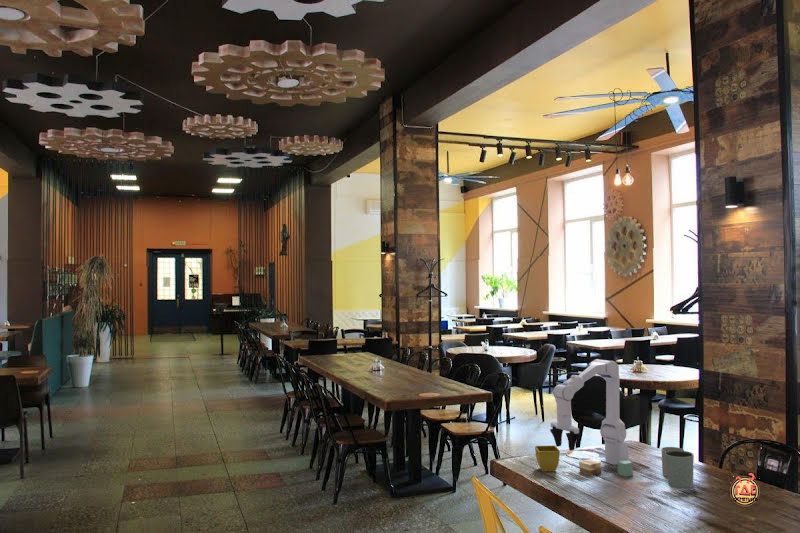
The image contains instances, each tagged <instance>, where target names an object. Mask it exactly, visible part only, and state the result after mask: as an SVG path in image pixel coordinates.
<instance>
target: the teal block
mask: <svg viewBox="0 0 800 533" xmlns="http://www.w3.org/2000/svg"><path fill="white" fill-rule="evenodd" d="M633 473H634V472H633V462H632V461H630V462H629V461H626V460H623V461H618V462H617V475H620V476H622V477H631V476H633Z"/></svg>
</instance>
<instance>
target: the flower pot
mask: <svg viewBox="0 0 800 533" xmlns="http://www.w3.org/2000/svg"><path fill="white" fill-rule="evenodd" d="M534 449H535V458H536V463H537V464H538V466H539V468H540V470H541V471H542V472H556V470H557V469H558V465H559V462H560V453H561V452H560V449H559V448H558V447H557V446H556V445H535V446H534Z"/></svg>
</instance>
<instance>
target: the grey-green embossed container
mask: <svg viewBox="0 0 800 533" xmlns="http://www.w3.org/2000/svg"><path fill="white" fill-rule="evenodd" d="M694 455H695V454H694V453H693V452H690V451H687V450H684V451H681V450H671V451H666V452H665V460H666V467H667V474H668V477H667V482H668V485H669V486H670V487H671V488H675V489H679V490H687V489H692V488H694V461H695V460H694V459H695V456H694Z"/></svg>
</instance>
